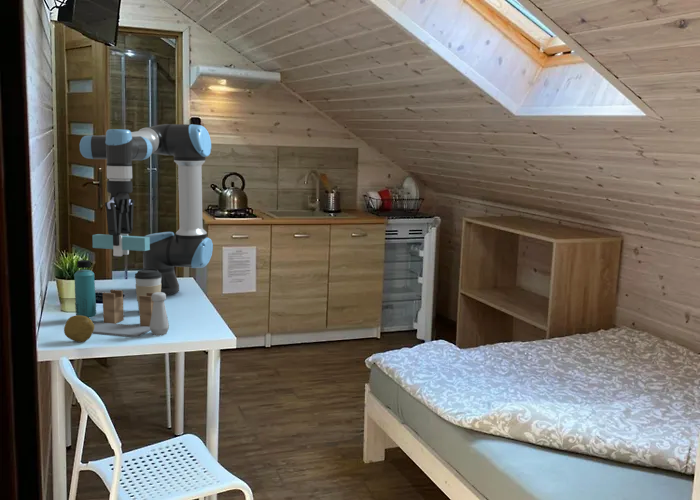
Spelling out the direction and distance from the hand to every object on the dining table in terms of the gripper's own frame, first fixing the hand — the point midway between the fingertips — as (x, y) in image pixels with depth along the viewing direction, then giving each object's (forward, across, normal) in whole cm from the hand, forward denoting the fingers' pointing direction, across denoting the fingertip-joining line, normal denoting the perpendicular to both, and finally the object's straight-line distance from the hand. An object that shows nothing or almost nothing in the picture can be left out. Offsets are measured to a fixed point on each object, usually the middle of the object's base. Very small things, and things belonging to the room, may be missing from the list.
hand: (121, 254), depth 221 cm
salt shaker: (+24, +3, +14) cm, 28 cm away
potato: (+24, +17, -4) cm, 30 cm away
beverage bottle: (+24, -4, -16) cm, 29 cm away
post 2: (+23, -6, +6) cm, 25 cm away
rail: (-2, 0, 0) cm, 2 cm away
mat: (+23, +4, 0) cm, 24 cm away
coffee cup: (+23, -20, -2) cm, 31 cm away
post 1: (+23, -6, -6) cm, 25 cm away
